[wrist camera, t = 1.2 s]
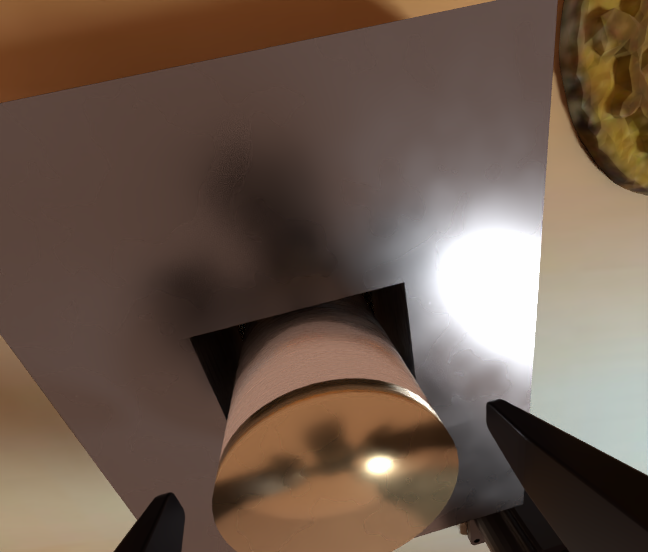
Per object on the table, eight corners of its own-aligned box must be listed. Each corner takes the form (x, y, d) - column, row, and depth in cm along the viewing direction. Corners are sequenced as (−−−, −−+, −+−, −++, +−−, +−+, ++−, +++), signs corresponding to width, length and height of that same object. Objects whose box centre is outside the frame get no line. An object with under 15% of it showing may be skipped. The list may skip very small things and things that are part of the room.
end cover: (376, 358, 16) (463, 532, 9) (266, 387, 16) (256, 596, 8) (357, 254, 14) (453, 365, 6) (229, 285, 14) (168, 444, 6)
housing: (464, 422, 19) (523, 504, 15) (218, 493, 18) (199, 603, 14) (448, 55, 12) (558, -13, 7) (32, 145, 11) (-148, 133, 6)
